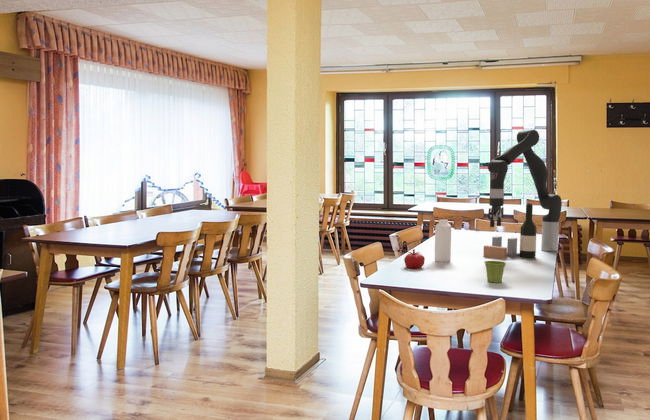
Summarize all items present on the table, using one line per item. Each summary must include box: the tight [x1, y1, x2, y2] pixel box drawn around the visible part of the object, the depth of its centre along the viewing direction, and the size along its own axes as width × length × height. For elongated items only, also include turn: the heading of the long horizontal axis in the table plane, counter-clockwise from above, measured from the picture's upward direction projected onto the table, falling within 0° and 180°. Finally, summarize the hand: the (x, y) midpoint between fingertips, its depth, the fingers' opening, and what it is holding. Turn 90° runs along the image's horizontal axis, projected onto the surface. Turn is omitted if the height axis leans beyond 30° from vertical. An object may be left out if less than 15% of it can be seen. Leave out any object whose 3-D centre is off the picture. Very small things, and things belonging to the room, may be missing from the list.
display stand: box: [491, 235, 520, 258], centre depth 355 cm, size 7×16×10 cm, turn 51°
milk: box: [434, 218, 452, 263], centre depth 334 cm, size 6×6×22 cm
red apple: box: [403, 248, 425, 269], centre depth 314 cm, size 10×10×9 cm
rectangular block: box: [482, 244, 508, 260], centre depth 348 cm, size 4×12×6 cm, turn 50°
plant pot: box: [484, 260, 507, 284], centre depth 282 cm, size 9×9×9 cm
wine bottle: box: [519, 202, 537, 260], centre depth 346 cm, size 8×8×30 cm
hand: (495, 226), depth 347 cm, fingers open, 8 cm apart
